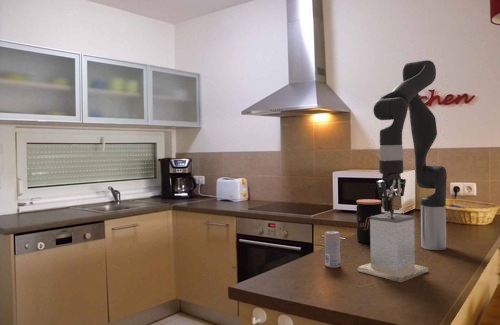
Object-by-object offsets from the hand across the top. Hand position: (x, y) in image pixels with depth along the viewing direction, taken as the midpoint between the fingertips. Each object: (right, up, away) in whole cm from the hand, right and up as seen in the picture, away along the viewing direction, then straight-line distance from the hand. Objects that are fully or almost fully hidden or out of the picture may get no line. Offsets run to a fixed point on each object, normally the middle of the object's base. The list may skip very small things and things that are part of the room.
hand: (391, 210), depth 138 cm
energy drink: (-18, -21, +9) cm, 29 cm away
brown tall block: (0, -17, +1) cm, 17 cm away
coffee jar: (+6, -19, +45) cm, 49 cm away
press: (+1, -20, +1) cm, 20 cm away
